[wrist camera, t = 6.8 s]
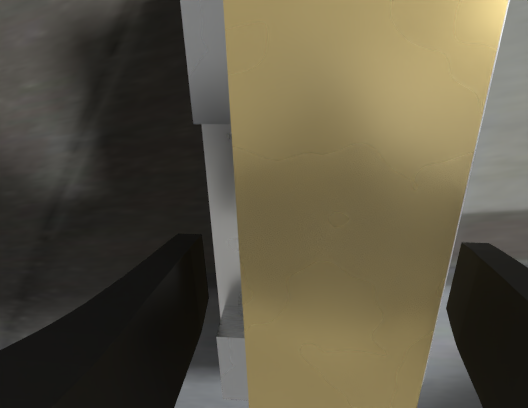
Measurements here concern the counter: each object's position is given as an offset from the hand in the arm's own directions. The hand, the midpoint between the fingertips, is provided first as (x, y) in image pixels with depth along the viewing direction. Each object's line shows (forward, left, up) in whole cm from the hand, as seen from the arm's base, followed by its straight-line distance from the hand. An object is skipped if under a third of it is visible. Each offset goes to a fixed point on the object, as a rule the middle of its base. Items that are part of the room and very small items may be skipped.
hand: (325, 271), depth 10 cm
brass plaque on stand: (0, 0, -2) cm, 3 cm away
